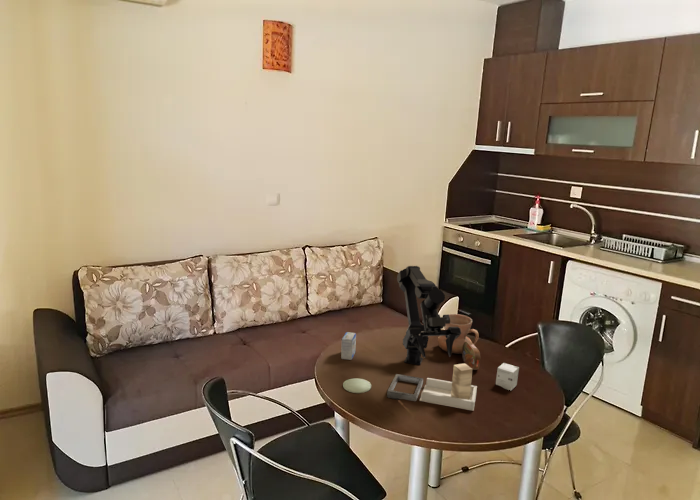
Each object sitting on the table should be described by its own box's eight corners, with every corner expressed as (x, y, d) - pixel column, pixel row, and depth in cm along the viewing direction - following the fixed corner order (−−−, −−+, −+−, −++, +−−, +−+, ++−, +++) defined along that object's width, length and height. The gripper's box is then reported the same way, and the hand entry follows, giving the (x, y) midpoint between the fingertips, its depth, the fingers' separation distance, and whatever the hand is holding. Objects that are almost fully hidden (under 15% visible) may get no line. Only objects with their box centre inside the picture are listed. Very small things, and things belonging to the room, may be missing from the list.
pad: (348, 377, 189) (348, 376, 189) (374, 382, 186) (374, 381, 186) (339, 390, 180) (339, 388, 180) (366, 395, 177) (366, 393, 177)
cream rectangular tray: (425, 386, 185) (425, 377, 184) (476, 395, 180) (477, 386, 179) (419, 402, 174) (420, 392, 173) (473, 412, 168) (474, 402, 168)
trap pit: (395, 380, 189) (396, 373, 188) (422, 384, 186) (423, 378, 185) (387, 397, 176) (387, 390, 175) (415, 403, 173) (416, 396, 172)
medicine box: (351, 360, 204) (352, 340, 203) (340, 359, 205) (341, 338, 203) (355, 352, 212) (356, 332, 210) (344, 351, 213) (345, 331, 211)
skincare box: (495, 386, 187) (497, 367, 186) (501, 380, 192) (503, 362, 191) (511, 391, 184) (513, 372, 182) (517, 385, 189) (519, 366, 187)
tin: (460, 357, 211) (462, 338, 210) (468, 357, 212) (470, 338, 210) (472, 373, 197) (474, 353, 195) (480, 373, 197) (482, 353, 195)
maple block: (450, 397, 177) (453, 364, 174) (461, 395, 178) (464, 363, 176) (458, 403, 172) (461, 370, 170) (469, 401, 174) (472, 368, 172)
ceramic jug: (429, 350, 217) (432, 318, 214) (442, 339, 229) (445, 309, 226) (470, 362, 208) (473, 329, 204) (481, 350, 220) (485, 319, 216)
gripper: (410, 306, 177) (417, 349, 169) (462, 305, 180) (470, 348, 172) (403, 318, 186) (409, 360, 178) (452, 317, 189) (460, 358, 181)
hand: (437, 356), depth 177 cm, fingers open, 9 cm apart
